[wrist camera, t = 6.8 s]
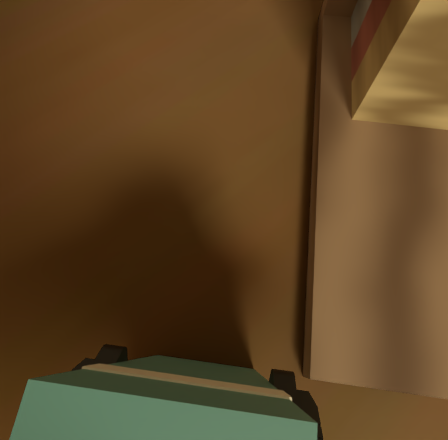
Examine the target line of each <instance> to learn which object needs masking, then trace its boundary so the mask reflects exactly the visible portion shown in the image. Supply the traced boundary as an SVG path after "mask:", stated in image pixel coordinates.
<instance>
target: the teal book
mask: <svg viewBox="0 0 448 440" xmlns="http://www.w3.org/2000/svg"><path fill="white" fill-rule="evenodd" d="M317 425H318V423H317V422H316V421H315V420H313V419H312V418H311V417H310V416H309V415H307V414H306V413H305V412H304V411H303V410H302V409H300V408H299V407H298V406H297V405H296V404H294V403H293V402H292V397H291V396H290V395H288V394H287V393H286V392H284V391H283V390H278V389H277V388H276V387H274V386H273V385H272V384H271V383H270V382H269V381H267V380H266V379H265V378H264V377H263V376H261V375H260V374H259V373H258V372H257V371H256V370H254V369H251V368H244V367H237V366H230V365H223V364H216V363H209V362H202V361H196V360H189V359H182V358H175V357H168V356H161V355H155V356H150V357H144V358H139V359H134V360H128V361H123V362H118V363H112V364H100V363H99V364H93V365H87V366H82V369H80V370H75V371H70V372H64V373H59V374H53V375H48V376H43V377H37V378H32V379H28V382H27V385H26V388H25V391H24V395H23V398H22V401H21V404H20V407H19V411H18V414H17V417H16V420H15V423H14V427H13V430H12V433H11V436H10V439H9V440H317Z"/></svg>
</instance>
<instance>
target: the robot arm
mask: <svg viewBox="0 0 448 440" xmlns="http://www.w3.org/2000/svg"><path fill="white" fill-rule="evenodd" d="M123 361H128V358H127V348H126V347H122V346H115V345H108V344H105V345H104V346H103V347H102V348H101V350H100V352H99V353H98V355H97V357H96V359H89V358H85V359H84V360H83V361H82V362H81V363H79V364H78V365H77V366H76V367H75V368H73V369H72V371H75V370H80V369H82V366H87V365H93V364H99V363H100V364H112V363H118V362H123ZM269 382H270V383H271V384H272V385H273V386H274V387H276V388H277V389H278V390H283V391H284V392H286V393H287V394H288V395H290V396H291V397H292V402H293V403H294V404H296V405H297V406H298V407H299V408H300V409H302V410H303V411H304V412H305V413H306V414H307V415H309V416H310V417H311V418H312V419H313V420H315V421H316V422H317V423H318V425H317V440H323V435H322V429H321V427H320V418H319V413H318V407H317V405H316V403H315V402H314V400H313V398H312V397H311V395H310V393H309V391H302V390H296V382H295V375H294V372H291V371H284V370H277V369H272V370H271V374H270V378H269Z"/></svg>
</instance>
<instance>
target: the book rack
mask: <svg viewBox="0 0 448 440" xmlns="http://www.w3.org/2000/svg"><path fill="white" fill-rule="evenodd" d="M303 376H304V377H306V378H309V379H313V380H319V381H326V382H333V383H340V384H347V385H354V386H360V387H367V388H374V389H381V390H388V391H395V392H402V393H408V394H415V395H422V396H429V397H436V398H443V399H448V0H324V1H323V4H322V8H321V11H320V15H319V18H318V35H317V59H316V82H315V105H314V128H313V151H312V175H311V198H310V221H309V244H308V268H307V291H306V314H305V337H304V360H303Z"/></svg>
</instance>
